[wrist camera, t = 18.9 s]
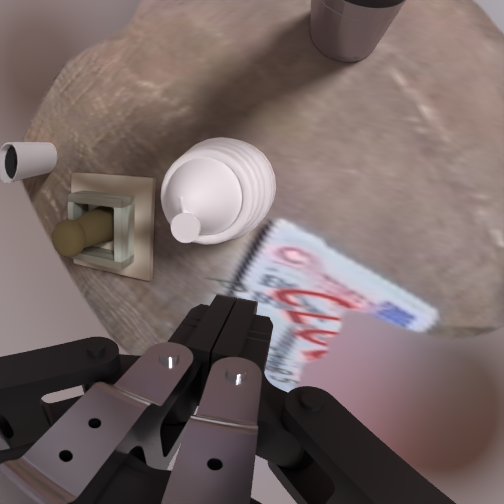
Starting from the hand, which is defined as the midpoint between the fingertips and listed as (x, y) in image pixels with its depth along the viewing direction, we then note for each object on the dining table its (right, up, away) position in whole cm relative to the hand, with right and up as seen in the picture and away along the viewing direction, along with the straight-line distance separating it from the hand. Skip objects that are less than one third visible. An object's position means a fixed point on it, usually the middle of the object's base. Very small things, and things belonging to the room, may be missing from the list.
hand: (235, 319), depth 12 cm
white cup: (-36, +20, +34) cm, 54 cm away
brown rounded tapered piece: (-23, +7, +35) cm, 42 cm away
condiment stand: (-22, +7, +35) cm, 42 cm away
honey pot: (-2, +12, +31) cm, 33 cm away
